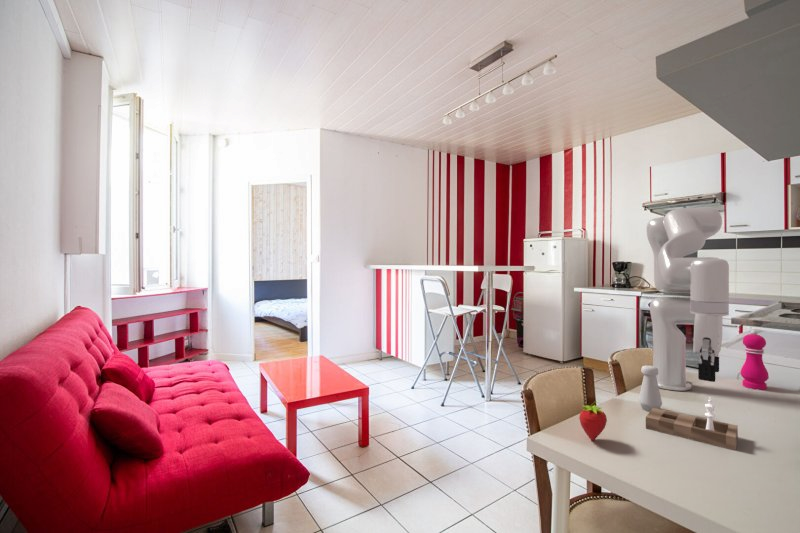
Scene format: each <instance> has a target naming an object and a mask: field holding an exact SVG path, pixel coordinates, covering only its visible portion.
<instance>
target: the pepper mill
mask: <svg viewBox="0 0 800 533" xmlns="http://www.w3.org/2000/svg"><path fill="white" fill-rule="evenodd" d="M742 344H743V345H744V346H745V347H744V352H745V355H746V357H745V361H744V363H743V365H742V367H741V369H740V376H741V377H742V378H743V380H741V382H742V387H744V388H746V389H750V388H752V389H751V390H756V389H760V390H759V391H765V389H766V390H767V389H768V388H767V387H768V384H767V383H766V382H767V381H768V380H769V372H768V370H767V368H766V366H765V365H764V360H763V355H764V354H765V352H764V351H765V349H764V348H765V347H766V345H767V341H766V339H765V338H764V337H763V336H761V335H759V334H758V331H757V330H756V329H752V330H750V334H746V335H744V337H742Z"/></svg>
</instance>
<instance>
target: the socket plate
mask: <svg viewBox="0 0 800 533" xmlns="http://www.w3.org/2000/svg"><path fill="white" fill-rule="evenodd" d="M706 425H707V418H703V417H699V416H695V415H689V414H686V413H685V414H684V413H679V412H675V411H672V410H671V411H670V410H665V409H661V408H660V409H657V408H652V410H651V411H650V412H648V413H647V414H646V416H645V429H646V430H651V431H655V432H659V433H662V434H663V433H664V434H666V435H667V434H668V435H670V436H675V437H680V438H684V439H688V440H692V441H695V442H699V443H700V442H701V443H703V444H709V445H712V446H715V447H721V448H725V449H728V450H732V451H736V450H737V444H738V438H739V436H738V435H739V432H738V431H739V430H738V429H739V428H738V425H736V424H732V423H727V422H722V421H718V420H713V426H714V431H712V430H707V429H706Z"/></svg>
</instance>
